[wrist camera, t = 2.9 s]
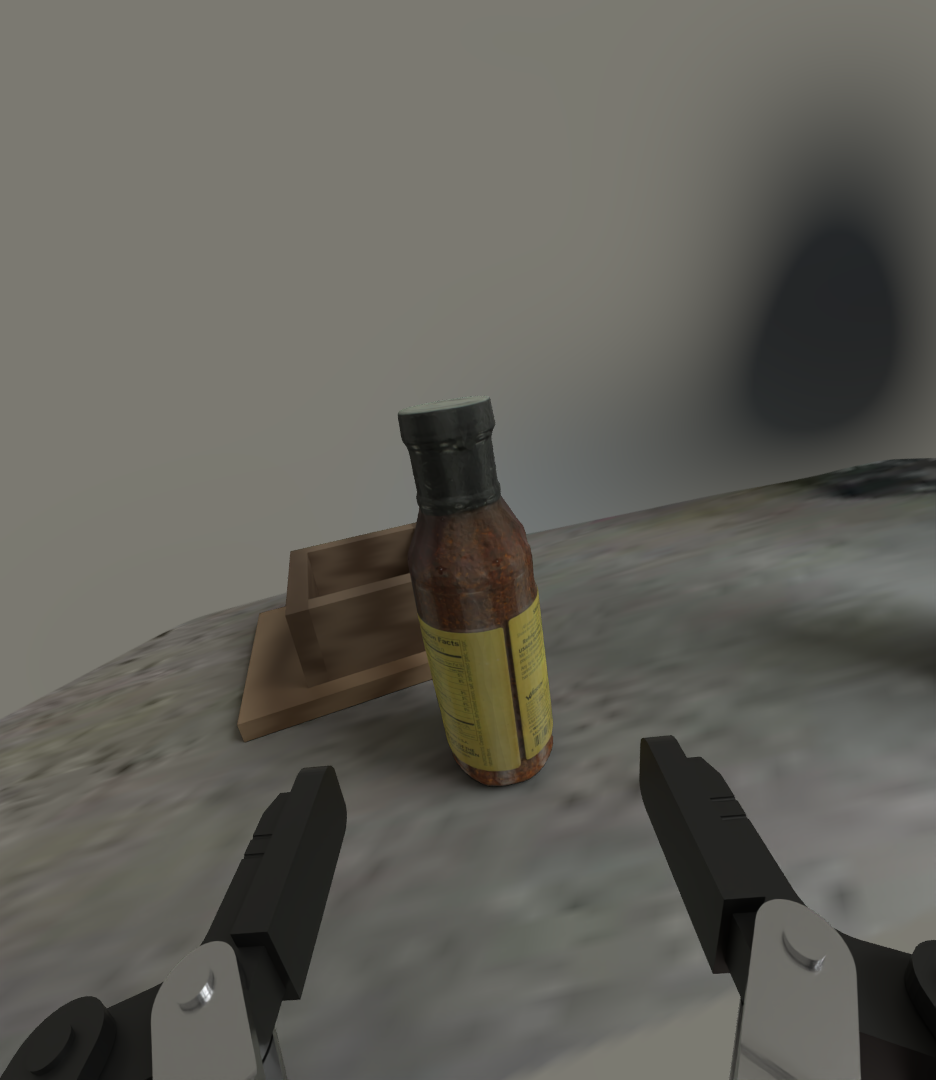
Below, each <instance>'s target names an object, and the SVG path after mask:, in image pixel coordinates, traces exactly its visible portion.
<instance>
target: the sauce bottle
mask: <svg viewBox="0 0 936 1080" xmlns="http://www.w3.org/2000/svg"><path fill="white" fill-rule="evenodd" d="M398 420H399V426H400V432H401V438H402V441H403V443H404V444H405V445H406V447H407V449H408V451H409V455H410V459H411V464H412V469H413V475H414V479H415V483H416V488H417V496H416V499H417V503H418V505H419V513H418V518H417V522H416V527H415V531H414V535H413V538H412V541H411V544H410V547H409V551H408V566H409V571H410V576H411V582H412V587H413V592H414V597H415V603H416V609H417V614H418V619H419V623H420V628H421V632H422V637H423V641H424V646H425V650H426V654H427V658H428V663H429V667H430V671H431V675H432V679H433V683H434V687H435V691H436V695H437V699H438V703H439V707H440V711H441V715H442V719H443V724H444V728H445V732H446V736H447V740H448V743H449V746H450V748H451V750H452V752H453V756H454V759H455V760H456V762H457V763H458V764H459V766H460V767H461V768H462V769H463V770H464V771H465V772H466V773H467V774H468V775H469V776H471V777H472V778H473V779H474V780H477V781H479V782H480V783H482V784H485V785H487V786H503V785H509V784H514V783H518V782H524V781H525V780H528V779H530V778H531V777H533V776H534V775H536V774H537V773H538V772H539V771H540V770H541V768H542V767H543V766H544V765H545V762H546V761H547V759H548V757H549V755H550V752H551V750H552V745H553V737H552V726H553V718H552V709H551V700H550V691H549V682H548V674H547V665H546V657H545V648H544V640H543V631H542V622H541V612H540V603H539V594H538V587H537V585H536V582H535V580H534V576H533V575H534V574H533V561H532V554H531V548H530V545H529V544H528V542H527V538H526V532H525V530H524V527H523V525H522V524H521V523H520V522H519V520H518V519H517V518H516V516H515V515H514V513H513V512H512V511H511V509H510V508H509V506H508V505H507V503H506V502H505V501H504V499H503V498H502V496H501V493H500V483H499V482H498V480H497V474H496V465H495V462H494V453H493V445H492V441H491V435H492V431H493V428H494V426H495V420H494V415H493V410H492V406H491V401H490V398H489V397H487V396H474V397H472V396H470V397H464V398H463V397H462V398H457V399H451V400H444V401H437V402H431V403H427V404H422V405H418V406H413V407H409V408H406V409H403V410H401V411H399V413H398Z"/></svg>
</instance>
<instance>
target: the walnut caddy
mask: <svg viewBox="0 0 936 1080" xmlns="http://www.w3.org/2000/svg"><path fill="white" fill-rule="evenodd" d="M415 527H416V523H412V524H408V525H403V526H399V527H394V528H390V529H386V530H382V531H377V532H372V533H369V534H364V535H359V536H355V537H351V538H346V539H342V540H338V541H333V542H329V543H325V544H320V545H316V546H312V547H307V548H303V549H299V550H294V551H291V552H290V563H289V575H288V587H287V598H286V606H285V607H281V608H278V609H274V610H270V611H266V612H262V613H260V614H259V619H258V624H257V629H256V634H255V639H254V644H253V649H252V654H251V659H250V664H249V669H248V674H247V679H246V684H245V688H244V693H243V698H242V703H241V708H240V713H239V718H238V723H237V726H238V728H239V731H240V733H241V735H242V738H243V740H244V742H247V741H250V740H253V739H256V738H258V737H261V736H264V735H267V734H270V733H273V732H276V731H279V730H282V729H285V728H288V727H291V726H294V725H297V724H300V723H303V722H306V721H309V720H312V719H315V718H318V717H321V716H324V715H327V714H330V713H333V712H336V711H339V710H342V709H345V708H347V707H350V706H353V705H356V704H359V703H362V702H365V701H368V700H371V699H374V698H377V697H380V696H383V695H386V694H389V693H392V692H395V691H398V690H401V689H404V688H407V687H410V686H413V685H416V684H419V683H422V682H425V681H428V680H431V679H432V675H431V671H430V667H429V663H428V658H427V654H426V650H425V646H424V641H423V637H422V632H421V628H420V623H419V619H418V614H417V609H416V603H415V597H414V592H413V587H412V582H411V576H410V571H409V566H408V551H409V547H410V544H411V541H412V538H413V535H414V531H415Z"/></svg>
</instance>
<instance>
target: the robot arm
mask: <svg viewBox="0 0 936 1080" xmlns="http://www.w3.org/2000/svg"><path fill="white" fill-rule="evenodd" d="M639 782H640V790H641V795H642V799H643V802H644V805H645V808H646V811H647V813H648V816H649V818H650V821H651V823H652V825H653V828H654V830H655V833H656V835H657V838H658V840H659V843H660V845H661V848H662V850H663V852H664V855H665V857H666V860H667V862H668V865H669V867H670V870H671V872H672V875H673V877H674V879H675V882H676V884H677V887H678V889H679V892H680V894H681V897H682V899H683V902H684V904H685V906H686V909H687V911H688V914H689V916H690V919H691V921H692V924H693V926H694V928H695V931H696V933H697V936H698V938H699V941H700V943H701V946H702V948H703V951H704V953H705V955H706V958H707V960H708V963H709V965H710V968H711V970H712V973H713V974H720V973H730V974H731V976H732V978H733V980H734V983H735V985H736V987H737V990H738V992H739V994H740V996H741V997H740V1004H739V1011H738V1019H737V1026H736V1033H735V1041H734V1048H733V1056H732V1063H731V1071H730V1078H729V1080H936V940H931V941H925V942H922V943H920V944H919V945H918V946H916V948H915V950H914V952H913V954H909V953H905V952H901V951H898V950H894V949H891V948H887V947H883V946H880V945H876V944H873V943H869V942H866V941H862V940H859V939H856V938H853V937H850V936H848V935H846V934H844V933H842V932H840V931H838V930H836V929H835V928H833V927H832V926H831V925H830V924H829V923H828V922H827V921H826V920H825V919H823V918H822V917H821V916H820V915H818V914H817V913H816V912H814V911H813V910H811V909H809V908H808V907H807V906H806V905H805V904H804V903H803V902H802V901H801V899H800V898H799V897H798V895H797V894H796V893H795V891H794V890H793V888H792V887H791V885H790V883H789V882H788V880H787V879H786V877H785V876H784V874H783V872H782V871H781V869H780V868H779V866H778V864H777V863H776V861H775V860H774V858H773V856H772V855H771V853H770V852H769V850H768V849H767V847H766V845H765V844H764V842H763V841H762V839H761V837H760V836H759V834H758V833H757V831H756V829H755V828H754V826H753V825H752V823H751V822H750V820H749V819H747V817H746V814H745V812H744V810H743V809H742V807H741V806H740V804H739V802H738V801H737V800H735V797H734V795H733V793H732V791H731V790H730V788H729V787H728V785H727V783H726V782H725V780H724V779H723V777H722V775H721V774H720V773H719V772H718V771H716V770H715V769H714V768H713V767H712V766H711V765H710V764H708V763H707V762H706V761H705V760H704V759H703V758H702V757H691V758H687V757H686V756H685V754H684V752H683V750H682V749H681V747H680V745H679V743H678V742H677V740H676V739H675V737H673V736H672V735H670V736H659V737H648V738H642V739H641V744H640V777H639ZM346 822H347V811H346V805H345V801H344V798H343V795H342V792H341V789H340V786H339V782H338V779H337V776H336V773H335V770H334V768H333V767H332V766H321V767H310V768H303V769H301V770H300V772H299V773H298V775H297V778H296V780H295V782H294V785H293V787H292V789H291V792H287V793H280V794H279V795H278V796H277V798H276V799H275V800H274V801H273V802H272V803H271V805H270V806H269V807H268V808H267V809H266V811H265V812H264V813H263V815H262V817H261V819H260V821H259V824H258V826H257V828H256V830H255V832H254V834H253V839H252V840H251V841H250V843H249V845H248V847H247V849H246V852H245V854H244V859H242V860H241V862H240V865H239V867H238V869H237V871H236V873H235V875H234V877H233V880H232V882H231V884H230V886H229V888H228V890H227V892H226V895H225V897H224V899H223V901H222V903H221V905H220V908H219V910H218V912H217V914H216V916H215V918H214V920H213V923H212V925H211V927H210V929H209V931H208V933H207V935H206V937H205V939H204V941H203V942H202V944H201V945H200V946H199V947H197V948H196V949H194V950H193V951H191V952H190V953H189V954H188V955H186V956H185V957H184V958H183V959H182V960H181V961H180V962H179V963H178V964H177V965H176V966H175V967H174V968H173V970H172V971H171V972H170V973H169V975H168V976H167V978H166V979H165V981H164V982H162V983H161V984H159V985H157V986H155V987H153V988H151V989H149V990H146V991H144V992H142V993H140V994H138V995H135V996H133V997H131V998H129V999H127V1000H125V1001H122V1002H120V1003H118V1004H116V1005H114V1006H111V1007H109V1008H107V1009H106V1007H105V1006H104V1005H103V1004H102V1002H101V1001H100V1000H99V999H97V998H95V997H92V996H87V997H81V998H78V999H75V1000H73V1001H71V1002H69V1003H67V1004H65V1005H64V1006H62V1007H60V1008H59V1009H58V1010H56V1011H55V1012H53V1013H52V1014H51V1015H50V1016H49V1017H47V1018H46V1019H45V1020H44V1021H43V1022H42V1023H41V1024H40V1025H39V1026H38V1027H37V1028H36V1029H35V1030H34V1031H33V1032H32V1033H31V1034H30V1035H29V1037H28V1038H27V1039H26V1040H25V1042H24V1043H23V1044H22V1045H21V1047H20V1048H19V1050H18V1051H17V1052H16V1054H15V1055H14V1057H13V1058H12V1060H11V1062H10V1063H9V1065H8V1066H7V1068H6V1070H5V1071H4V1073H3V1074H2V1076H1V1078H0V1080H288V1079H287V1075H286V1070H285V1066H284V1062H283V1058H282V1053H281V1049H280V1045H279V1041H278V1036H277V1032H276V1029H275V1023H276V1019H277V1016H278V1013H279V1009H280V1006H281V1002H282V1001H285V1000H300V999H301V995H302V991H303V987H304V984H305V980H306V976H307V972H308V969H309V965H310V961H311V958H312V954H313V950H314V946H315V943H316V939H317V935H318V931H319V928H320V924H321V920H322V916H323V913H324V909H325V905H326V902H327V898H328V894H329V890H330V887H331V883H332V879H333V875H334V872H335V868H336V864H337V860H338V857H339V853H340V849H341V846H342V842H343V838H344V834H345V830H346Z"/></svg>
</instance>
